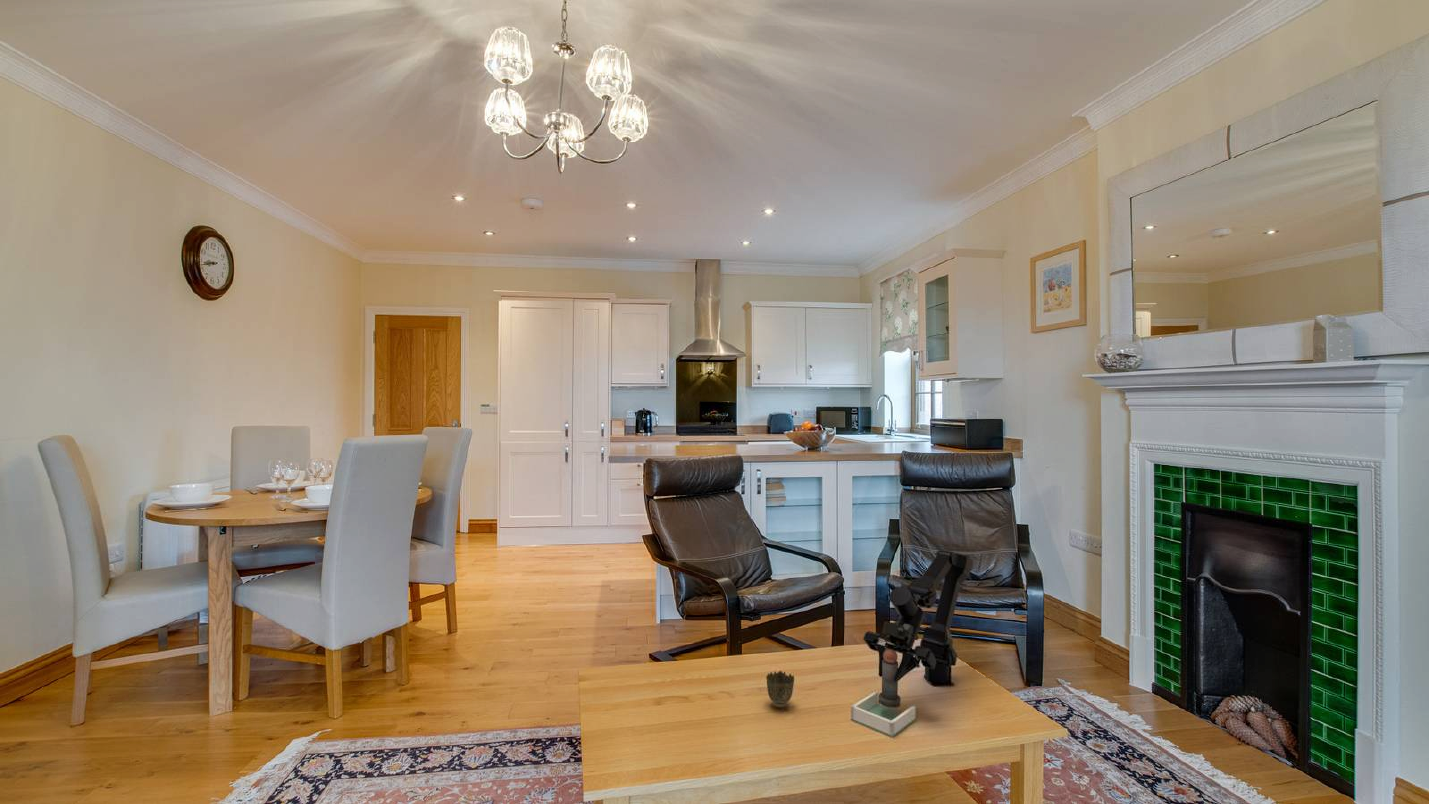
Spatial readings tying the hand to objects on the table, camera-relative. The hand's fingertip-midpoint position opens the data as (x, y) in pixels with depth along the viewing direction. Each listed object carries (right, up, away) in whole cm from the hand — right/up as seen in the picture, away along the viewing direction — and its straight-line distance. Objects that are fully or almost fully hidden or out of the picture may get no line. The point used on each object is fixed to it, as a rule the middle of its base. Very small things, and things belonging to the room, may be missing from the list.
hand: (887, 678), depth 162 cm
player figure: (+1, -7, +1) cm, 7 cm away
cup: (-27, -10, +5) cm, 29 cm away
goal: (-1, -10, -1) cm, 10 cm away
